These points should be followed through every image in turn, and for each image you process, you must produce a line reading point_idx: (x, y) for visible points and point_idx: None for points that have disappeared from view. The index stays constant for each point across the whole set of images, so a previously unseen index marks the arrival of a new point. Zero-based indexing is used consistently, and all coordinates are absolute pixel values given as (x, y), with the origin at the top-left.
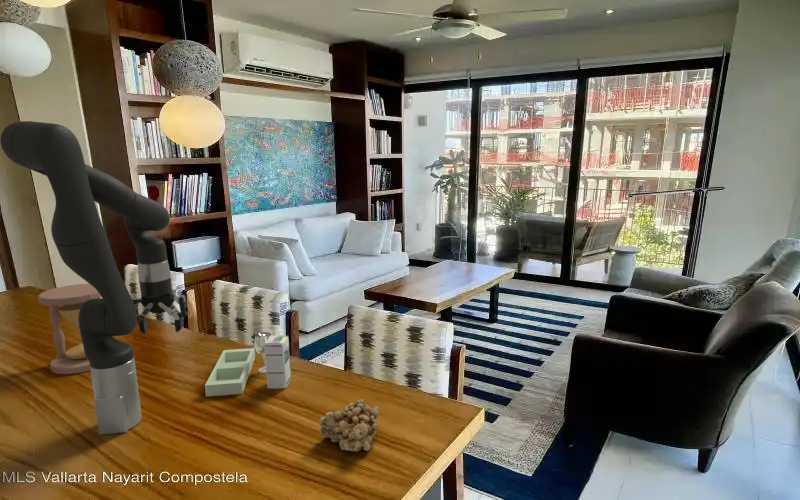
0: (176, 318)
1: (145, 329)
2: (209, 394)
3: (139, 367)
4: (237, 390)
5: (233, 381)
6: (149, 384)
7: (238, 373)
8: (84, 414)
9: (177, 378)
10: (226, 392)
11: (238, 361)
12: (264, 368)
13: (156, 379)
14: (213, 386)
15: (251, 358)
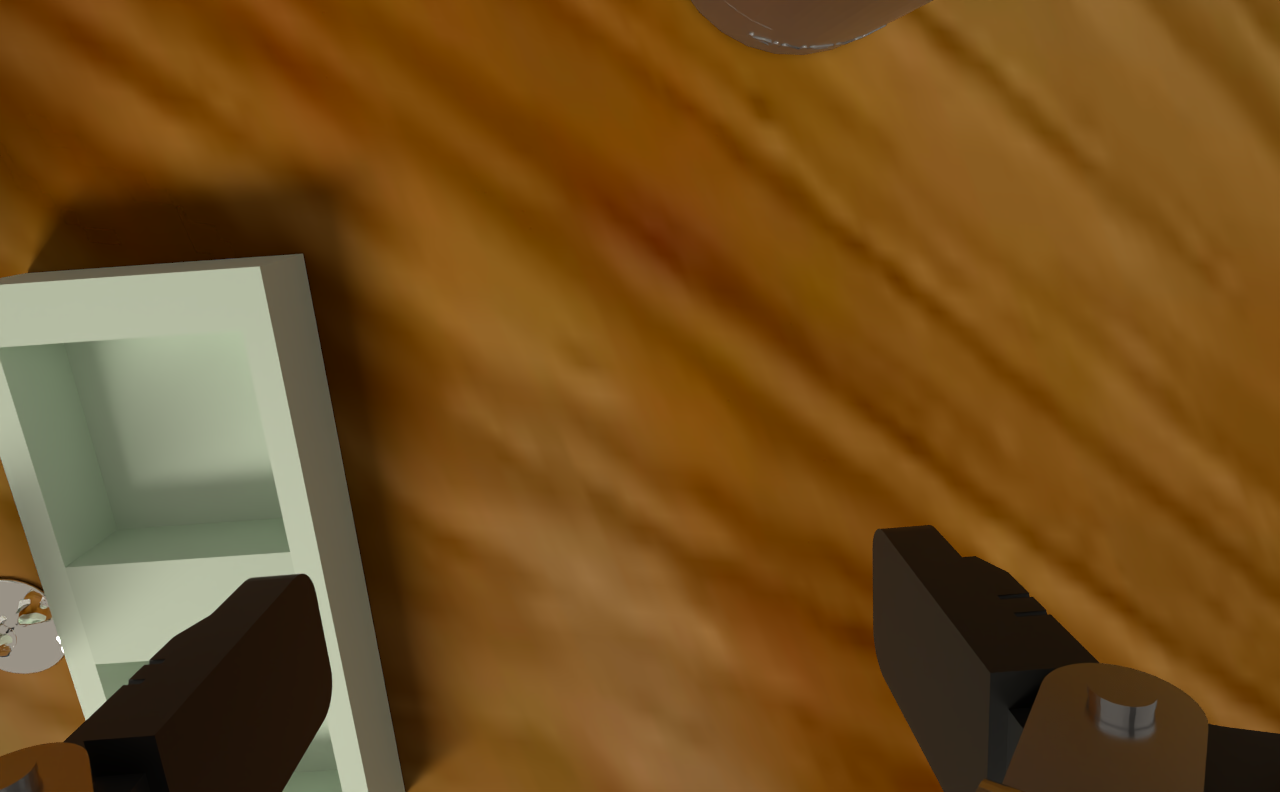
0: (26, 768)
1: (902, 596)
2: (267, 258)
3: None
4: (40, 275)
5: (31, 315)
6: (821, 482)
7: (149, 537)
8: (1134, 78)
9: (646, 552)
10: (132, 267)
11: None
12: (2, 623)
13: (798, 551)
14: (195, 268)
15: None
